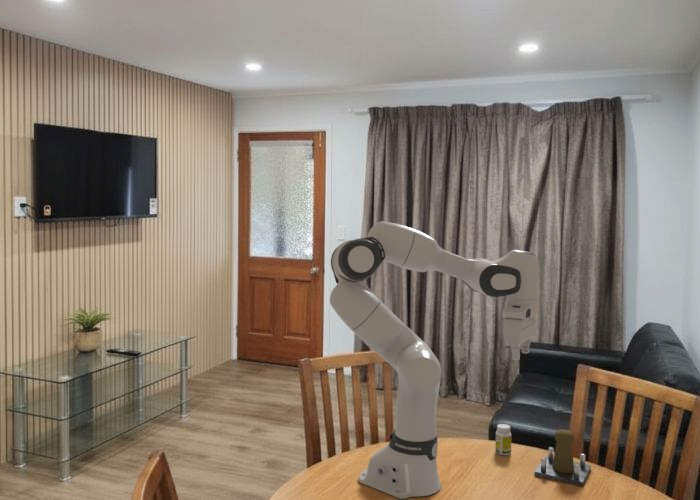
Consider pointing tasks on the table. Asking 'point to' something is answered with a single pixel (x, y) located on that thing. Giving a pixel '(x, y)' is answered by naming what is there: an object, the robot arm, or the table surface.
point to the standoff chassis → (572, 478)
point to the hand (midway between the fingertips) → (520, 356)
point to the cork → (563, 452)
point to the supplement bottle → (503, 440)
